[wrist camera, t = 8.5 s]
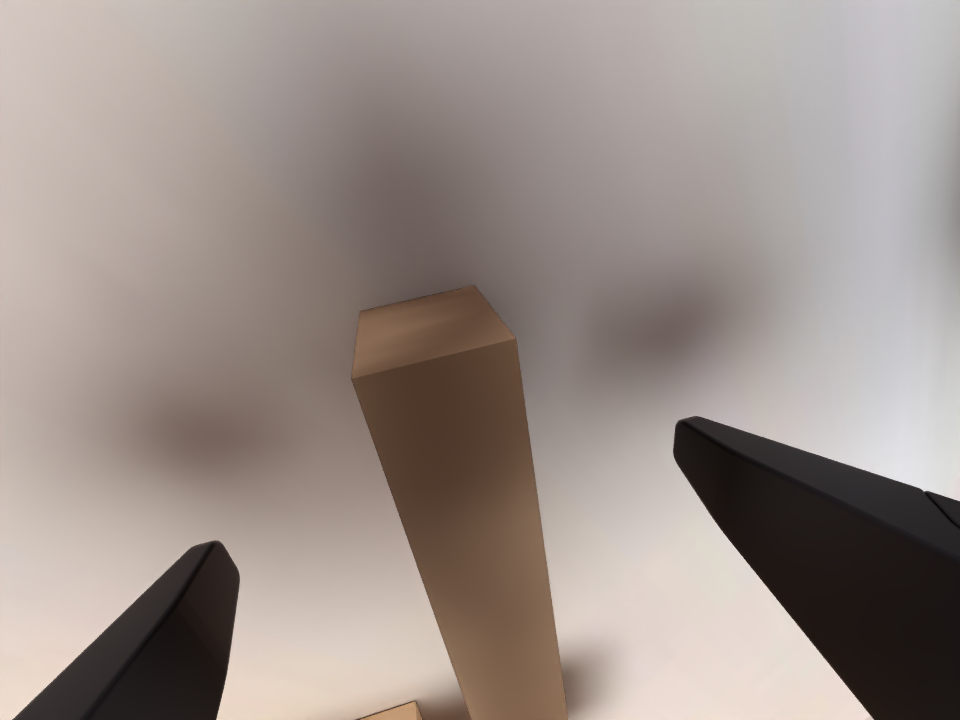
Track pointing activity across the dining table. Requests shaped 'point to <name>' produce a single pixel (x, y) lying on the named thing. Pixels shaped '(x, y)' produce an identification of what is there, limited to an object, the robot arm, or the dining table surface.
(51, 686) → the robot arm
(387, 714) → the l-shaped wooden block
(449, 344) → the batten
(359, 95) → the dining table surface
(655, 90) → the dining table surface
